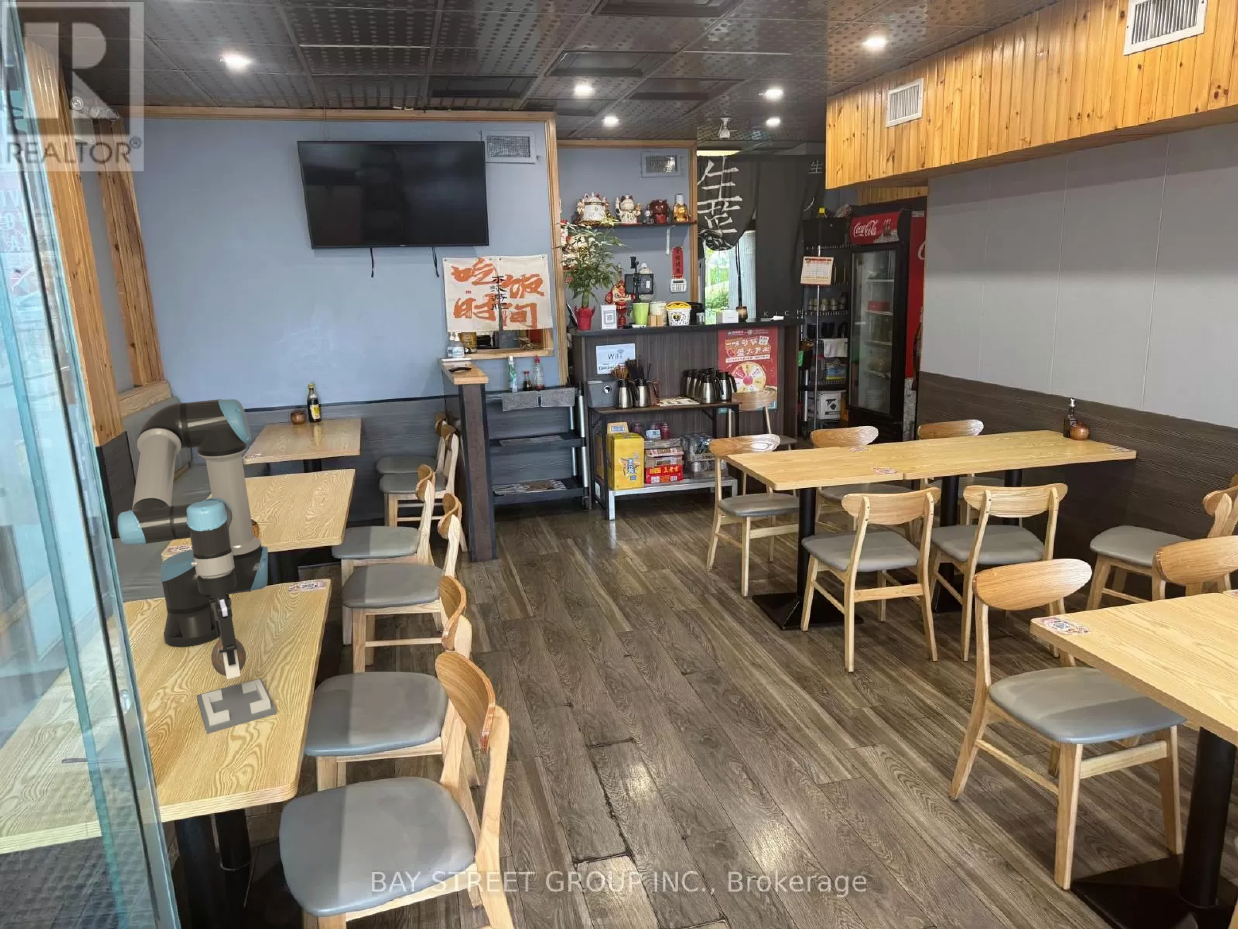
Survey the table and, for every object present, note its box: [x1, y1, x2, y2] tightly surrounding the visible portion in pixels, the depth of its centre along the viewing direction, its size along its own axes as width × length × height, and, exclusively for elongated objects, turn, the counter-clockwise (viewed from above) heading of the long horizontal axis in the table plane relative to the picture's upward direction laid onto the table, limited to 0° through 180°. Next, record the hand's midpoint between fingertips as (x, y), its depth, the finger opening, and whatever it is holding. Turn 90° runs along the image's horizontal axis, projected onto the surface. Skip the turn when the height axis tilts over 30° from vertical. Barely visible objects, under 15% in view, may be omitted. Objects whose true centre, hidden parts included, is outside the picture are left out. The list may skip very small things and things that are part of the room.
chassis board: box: [196, 677, 277, 735], centre depth 188 cm, size 18×14×3 cm
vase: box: [210, 635, 247, 676], centre depth 184 cm, size 7×7×9 cm
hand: (230, 670), depth 185 cm, fingers closed on vase, 7 cm apart
